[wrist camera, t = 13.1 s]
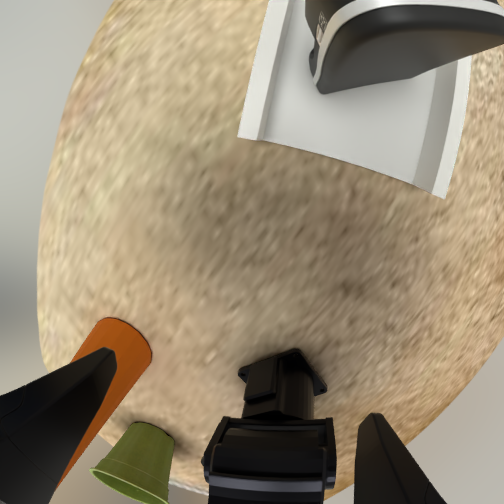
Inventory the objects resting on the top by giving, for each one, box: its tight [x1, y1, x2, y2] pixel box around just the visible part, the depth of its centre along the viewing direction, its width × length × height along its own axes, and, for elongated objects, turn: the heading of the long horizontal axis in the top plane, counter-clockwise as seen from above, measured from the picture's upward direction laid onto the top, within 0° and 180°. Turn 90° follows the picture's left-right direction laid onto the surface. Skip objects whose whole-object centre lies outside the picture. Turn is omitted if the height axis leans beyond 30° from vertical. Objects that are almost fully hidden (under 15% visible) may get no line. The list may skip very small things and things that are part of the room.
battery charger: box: [305, 0, 504, 94], centre depth 8 cm, size 7×4×11 cm, turn 109°
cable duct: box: [237, 0, 472, 199], centre depth 12 cm, size 14×12×4 cm
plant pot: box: [89, 422, 175, 504], centre depth 29 cm, size 12×12×11 cm
